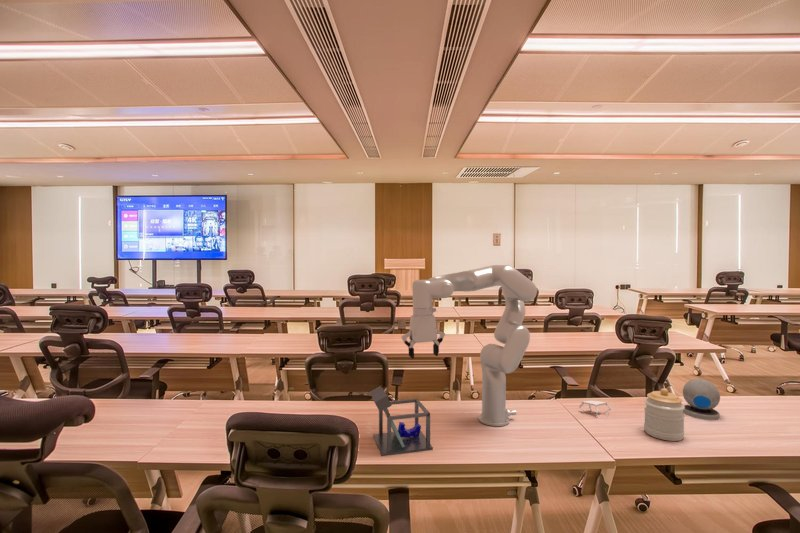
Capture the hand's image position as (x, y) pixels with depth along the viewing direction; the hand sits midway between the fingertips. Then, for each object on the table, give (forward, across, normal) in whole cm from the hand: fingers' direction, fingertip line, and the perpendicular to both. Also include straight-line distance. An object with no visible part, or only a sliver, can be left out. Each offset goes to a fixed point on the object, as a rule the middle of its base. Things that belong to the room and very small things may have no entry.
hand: (423, 356), depth 156 cm
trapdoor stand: (+29, +11, +6) cm, 32 cm away
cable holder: (+28, +8, +4) cm, 29 cm away
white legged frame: (+32, -77, +3) cm, 84 cm away
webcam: (+33, -120, +16) cm, 126 cm away
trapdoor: (+20, +18, +6) cm, 28 cm away
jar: (+32, -87, +27) cm, 97 cm away
